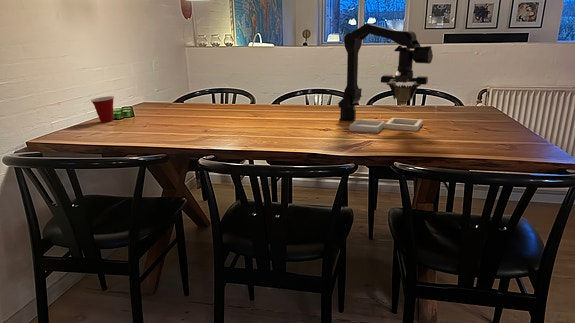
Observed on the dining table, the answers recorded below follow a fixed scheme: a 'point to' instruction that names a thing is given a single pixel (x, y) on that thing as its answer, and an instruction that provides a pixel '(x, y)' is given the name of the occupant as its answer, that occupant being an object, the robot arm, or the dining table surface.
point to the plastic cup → (104, 108)
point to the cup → (403, 94)
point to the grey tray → (367, 126)
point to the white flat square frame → (415, 127)
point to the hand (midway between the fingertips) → (402, 99)
